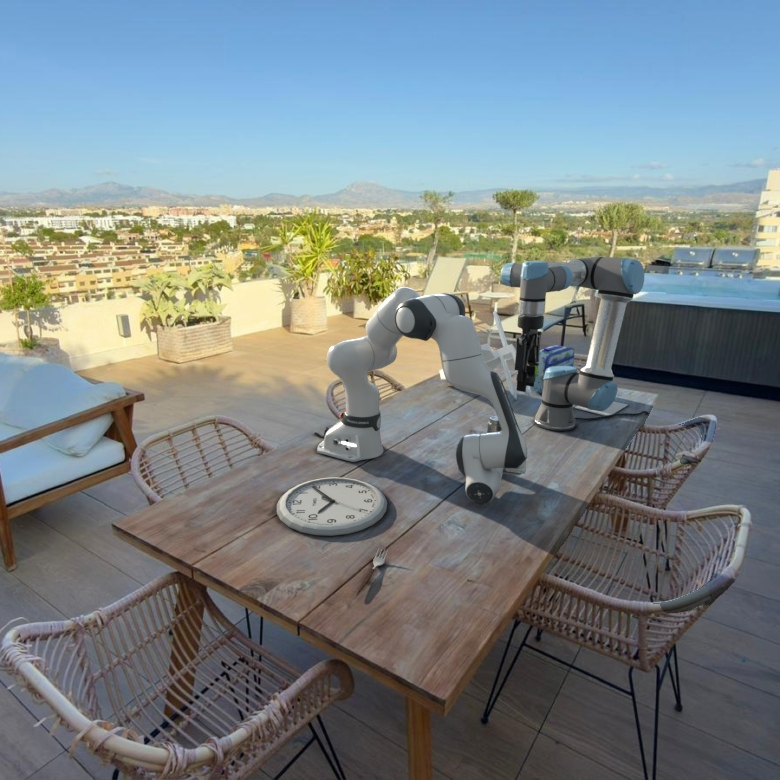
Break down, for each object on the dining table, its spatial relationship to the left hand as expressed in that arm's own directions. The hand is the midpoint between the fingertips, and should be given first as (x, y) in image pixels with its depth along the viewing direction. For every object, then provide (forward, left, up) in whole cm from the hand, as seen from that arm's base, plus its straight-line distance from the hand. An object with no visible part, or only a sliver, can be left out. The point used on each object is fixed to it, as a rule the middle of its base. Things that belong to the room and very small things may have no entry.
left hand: (494, 450), depth 163 cm
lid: (+7, +8, +23) cm, 25 cm away
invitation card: (+36, +79, -7) cm, 87 cm away
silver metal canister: (0, -1, -7) cm, 7 cm away
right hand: (+7, +8, +19) cm, 22 cm away
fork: (-18, -62, -7) cm, 65 cm away
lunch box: (+14, +96, -7) cm, 97 cm away
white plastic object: (-17, +80, -7) cm, 82 cm away
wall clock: (-38, -38, -7) cm, 54 cm away
